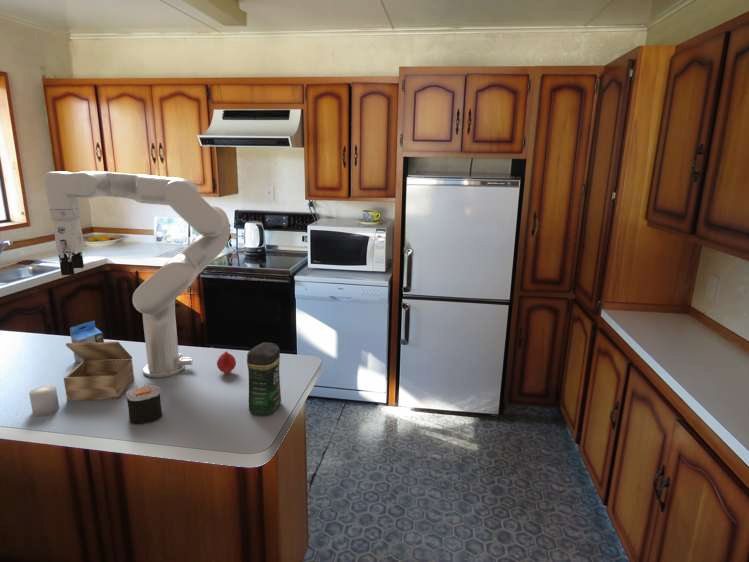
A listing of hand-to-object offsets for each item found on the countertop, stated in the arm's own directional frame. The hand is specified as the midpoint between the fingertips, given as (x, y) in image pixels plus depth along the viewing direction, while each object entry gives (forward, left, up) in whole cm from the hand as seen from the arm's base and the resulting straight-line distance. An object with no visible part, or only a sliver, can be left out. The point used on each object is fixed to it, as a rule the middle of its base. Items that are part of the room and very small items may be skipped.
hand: (73, 271), depth 141 cm
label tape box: (+5, -14, -34) cm, 37 cm away
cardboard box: (-9, +11, -34) cm, 37 cm away
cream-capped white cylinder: (+1, +22, -34) cm, 41 cm away
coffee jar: (-58, +27, -34) cm, 73 cm away
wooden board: (-9, +9, -23) cm, 26 cm away
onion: (-44, +3, -34) cm, 56 cm away
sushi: (-27, +28, -34) cm, 52 cm away
